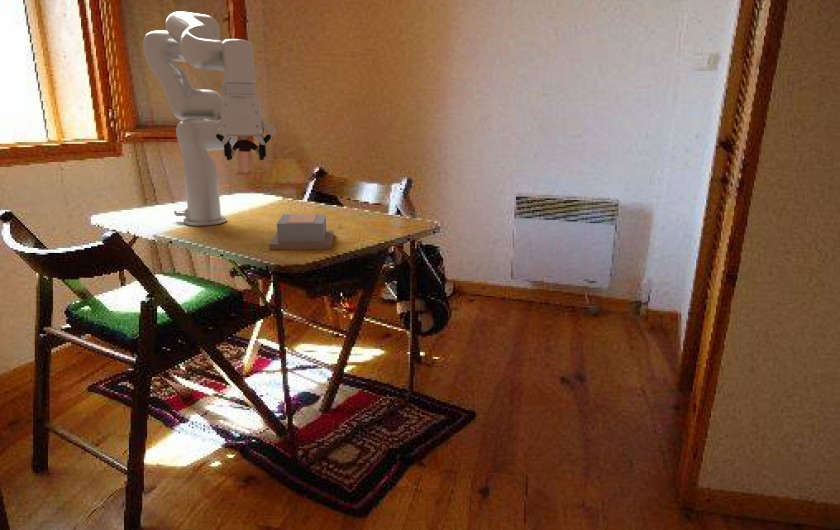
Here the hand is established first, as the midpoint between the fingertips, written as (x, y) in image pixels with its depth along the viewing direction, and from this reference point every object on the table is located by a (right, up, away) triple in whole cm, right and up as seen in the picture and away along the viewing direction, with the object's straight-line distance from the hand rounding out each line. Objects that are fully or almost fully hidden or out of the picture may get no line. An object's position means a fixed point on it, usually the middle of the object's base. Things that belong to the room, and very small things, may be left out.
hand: (245, 159), depth 145 cm
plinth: (+14, -22, +5) cm, 27 cm away
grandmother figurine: (0, -4, +1) cm, 4 cm away
